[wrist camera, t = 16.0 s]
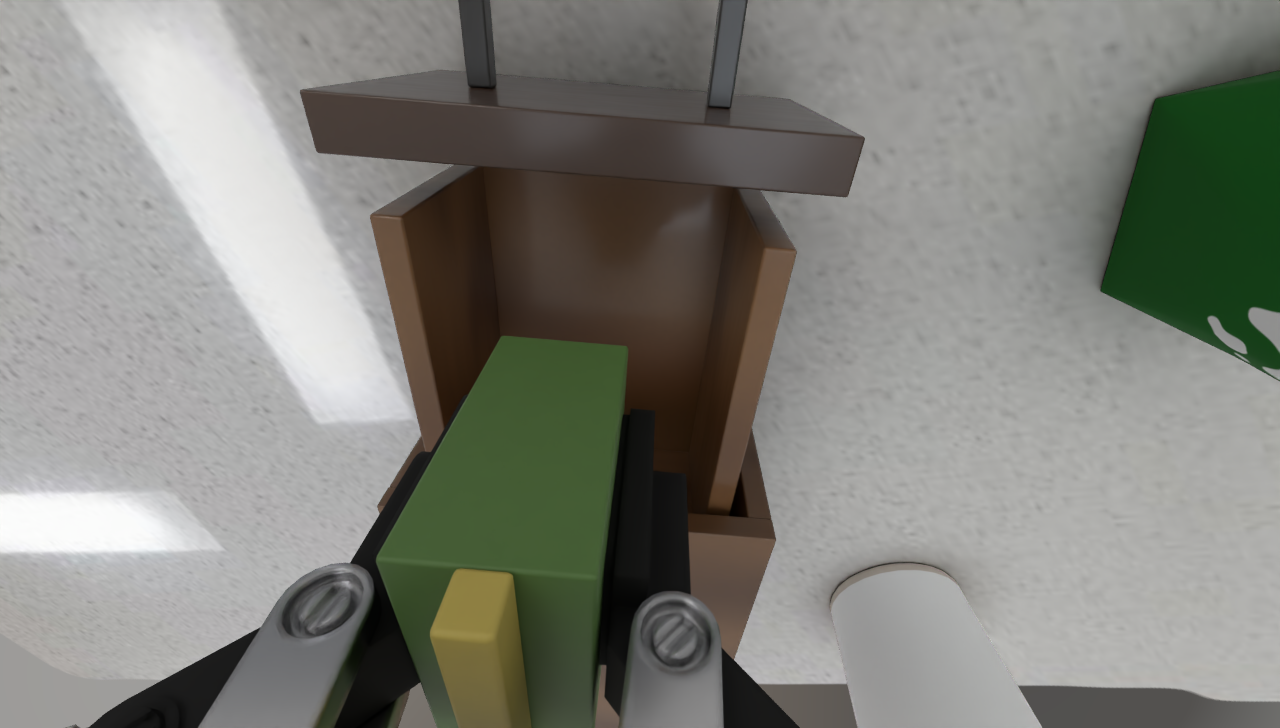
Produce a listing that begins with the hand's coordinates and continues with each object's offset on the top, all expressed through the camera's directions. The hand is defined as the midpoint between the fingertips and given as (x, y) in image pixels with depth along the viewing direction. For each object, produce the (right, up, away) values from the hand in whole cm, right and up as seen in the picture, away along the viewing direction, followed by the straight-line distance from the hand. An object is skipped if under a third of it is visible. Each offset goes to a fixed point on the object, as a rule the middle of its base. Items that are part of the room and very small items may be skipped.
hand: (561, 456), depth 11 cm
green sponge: (0, 0, +1) cm, 1 cm away
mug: (+19, -14, +22) cm, 32 cm away
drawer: (+1, +7, +7) cm, 10 cm away
